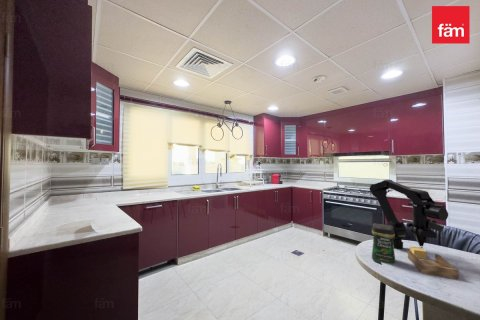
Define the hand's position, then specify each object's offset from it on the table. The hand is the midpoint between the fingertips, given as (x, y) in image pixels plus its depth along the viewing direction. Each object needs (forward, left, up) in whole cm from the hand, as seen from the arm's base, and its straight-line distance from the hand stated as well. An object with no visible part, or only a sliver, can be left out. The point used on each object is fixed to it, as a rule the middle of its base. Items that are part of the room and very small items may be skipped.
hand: (421, 246), depth 102 cm
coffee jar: (-18, -9, -8) cm, 21 cm away
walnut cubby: (0, -10, -7) cm, 12 cm away
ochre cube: (-1, +3, -7) cm, 8 cm away
